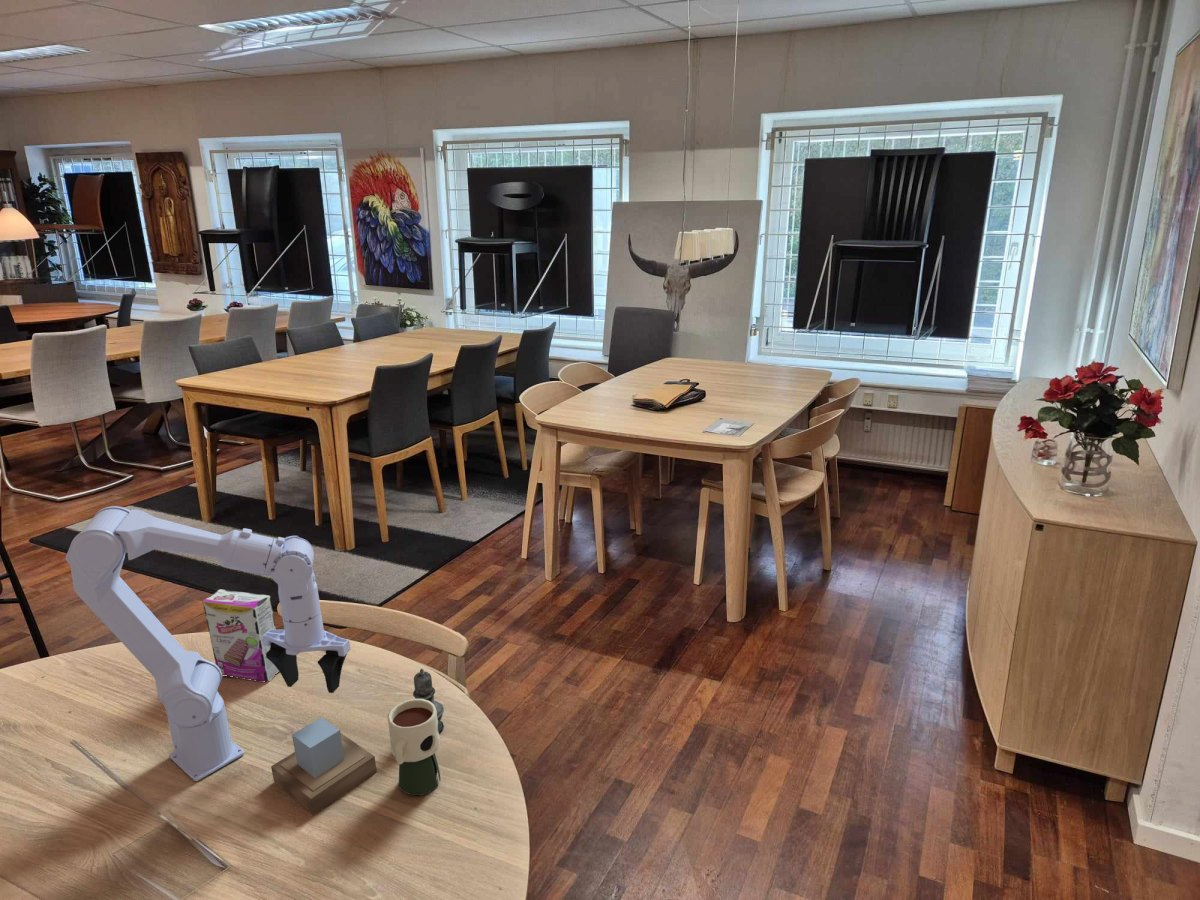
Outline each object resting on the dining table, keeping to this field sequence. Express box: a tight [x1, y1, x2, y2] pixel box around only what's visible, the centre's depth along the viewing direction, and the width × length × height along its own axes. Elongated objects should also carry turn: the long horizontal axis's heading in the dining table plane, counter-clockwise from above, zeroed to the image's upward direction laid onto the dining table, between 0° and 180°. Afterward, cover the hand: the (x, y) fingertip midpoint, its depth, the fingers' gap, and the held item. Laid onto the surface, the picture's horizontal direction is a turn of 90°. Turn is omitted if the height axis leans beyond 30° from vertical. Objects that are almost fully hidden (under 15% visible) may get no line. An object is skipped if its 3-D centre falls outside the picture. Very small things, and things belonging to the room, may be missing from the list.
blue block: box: [291, 716, 344, 778], centre depth 115 cm, size 5×5×6 cm
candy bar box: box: [202, 589, 279, 683], centre depth 141 cm, size 11×5×16 cm, turn 77°
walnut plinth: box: [270, 732, 378, 816], centre depth 117 cm, size 11×11×3 cm
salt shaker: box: [412, 668, 445, 735], centre depth 126 cm, size 6×6×12 cm
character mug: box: [387, 698, 441, 796], centre depth 114 cm, size 11×7×13 cm, turn 168°
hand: (313, 686), depth 123 cm, fingers open, 7 cm apart
